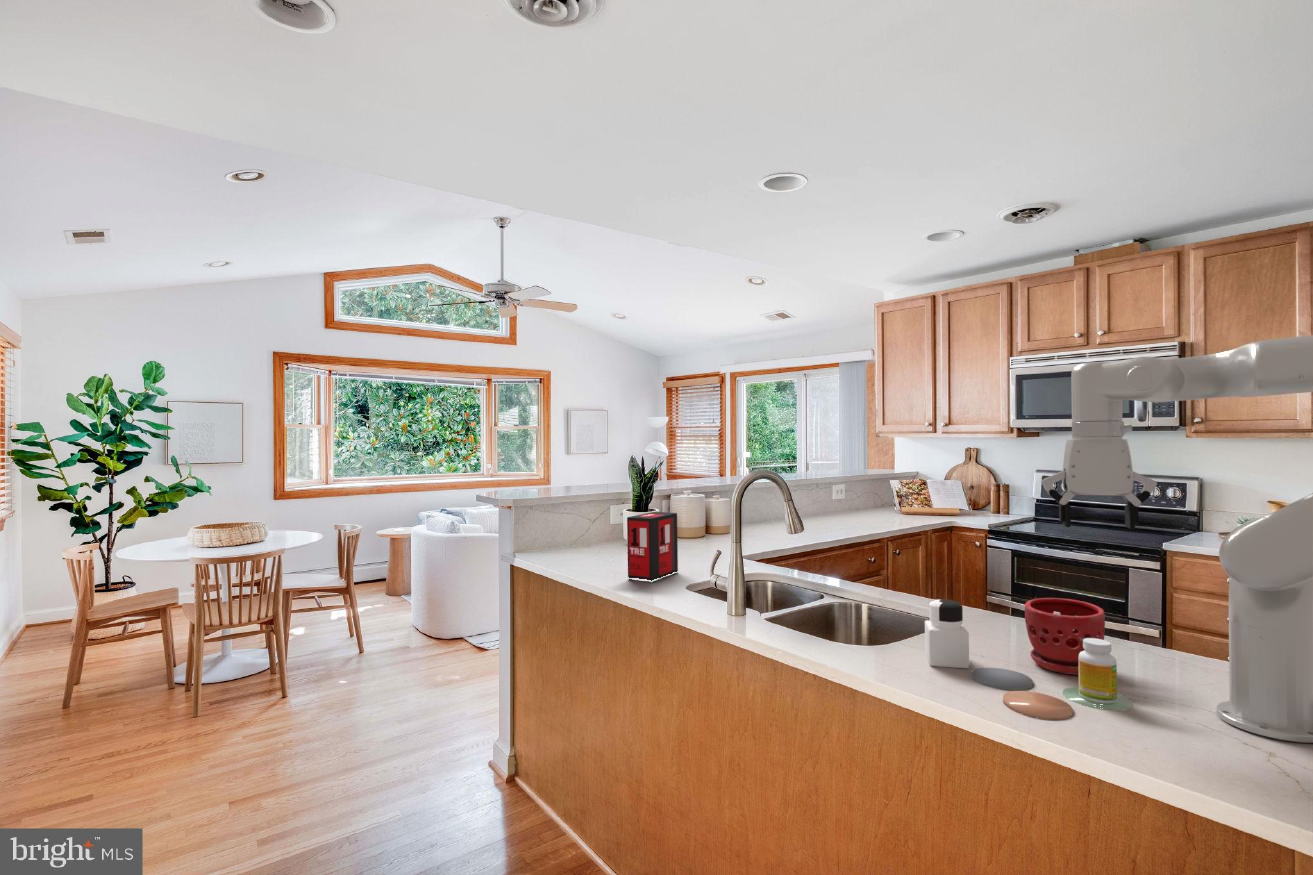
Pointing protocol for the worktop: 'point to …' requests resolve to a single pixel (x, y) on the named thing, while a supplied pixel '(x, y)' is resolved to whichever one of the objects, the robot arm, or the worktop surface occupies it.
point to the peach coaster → (1037, 705)
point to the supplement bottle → (1097, 672)
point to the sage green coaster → (1119, 705)
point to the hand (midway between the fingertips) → (1098, 527)
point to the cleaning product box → (652, 545)
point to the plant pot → (1061, 631)
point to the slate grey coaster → (1002, 679)
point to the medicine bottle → (946, 635)
